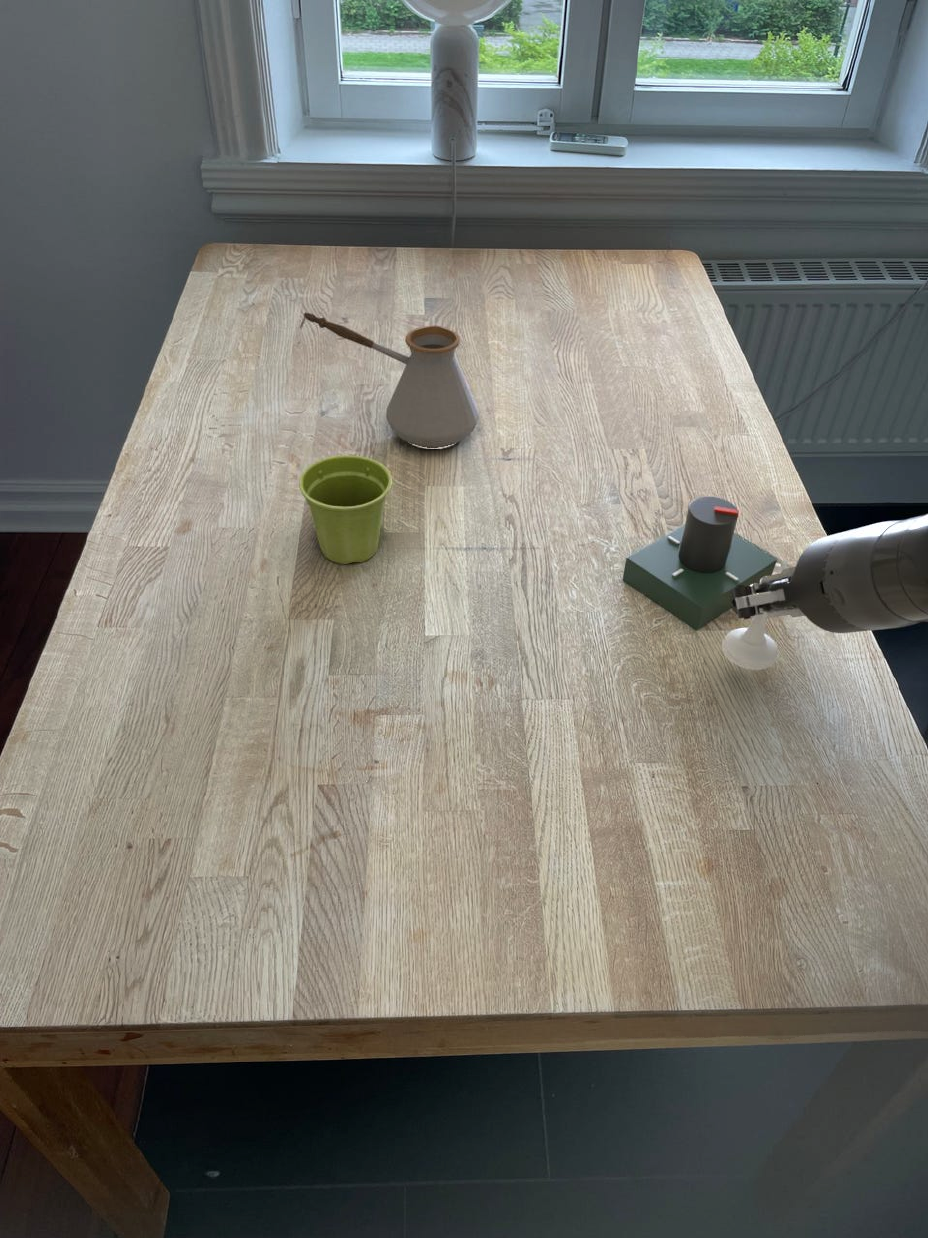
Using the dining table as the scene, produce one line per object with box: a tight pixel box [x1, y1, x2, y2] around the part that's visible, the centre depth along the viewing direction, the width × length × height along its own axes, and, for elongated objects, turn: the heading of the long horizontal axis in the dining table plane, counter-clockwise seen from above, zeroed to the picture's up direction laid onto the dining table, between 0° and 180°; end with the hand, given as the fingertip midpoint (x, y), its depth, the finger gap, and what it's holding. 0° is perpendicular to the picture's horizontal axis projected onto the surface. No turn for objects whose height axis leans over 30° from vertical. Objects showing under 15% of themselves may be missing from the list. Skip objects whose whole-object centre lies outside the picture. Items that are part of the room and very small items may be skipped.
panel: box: [622, 523, 778, 631], centre depth 100 cm, size 12×10×3 cm
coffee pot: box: [299, 311, 480, 448], centre depth 117 cm, size 21×12×15 cm, turn 85°
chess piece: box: [721, 562, 782, 671], centre depth 85 cm, size 5×5×10 cm
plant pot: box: [298, 454, 393, 565], centre depth 101 cm, size 9×9×9 cm
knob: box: [679, 496, 740, 573], centre depth 97 cm, size 5×5×6 cm
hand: (749, 599), depth 87 cm, fingers closed on chess piece
